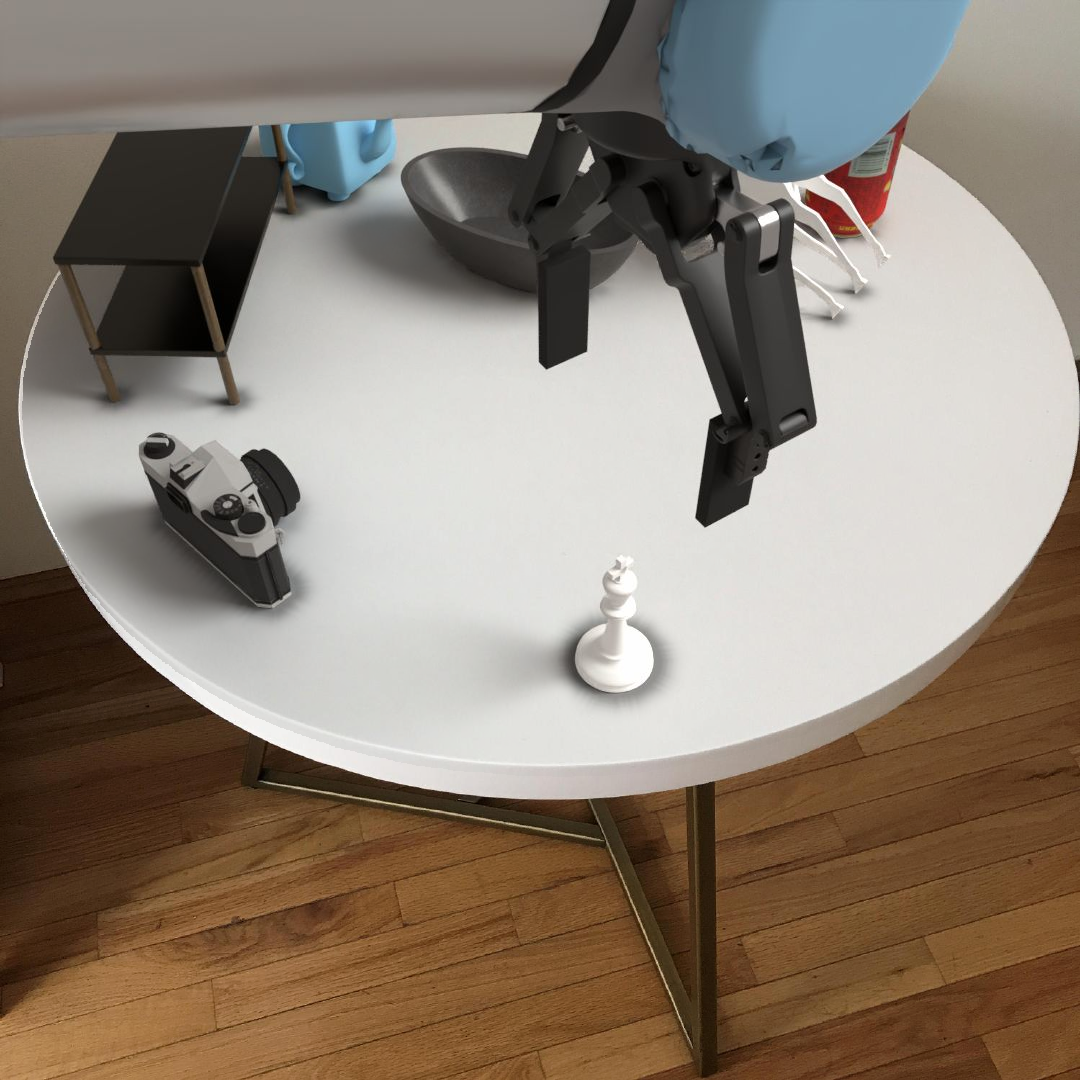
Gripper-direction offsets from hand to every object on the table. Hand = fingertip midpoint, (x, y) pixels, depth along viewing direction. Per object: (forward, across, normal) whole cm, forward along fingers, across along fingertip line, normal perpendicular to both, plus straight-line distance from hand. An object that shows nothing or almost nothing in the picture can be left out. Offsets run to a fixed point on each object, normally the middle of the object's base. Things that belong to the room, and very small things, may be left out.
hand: (637, 430), depth 59 cm
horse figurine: (+19, +28, -32) cm, 46 cm away
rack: (+19, +48, +7) cm, 52 cm away
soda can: (+19, +26, -44) cm, 54 cm away
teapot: (+19, +58, -10) cm, 62 cm away
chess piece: (+19, -1, +1) cm, 19 cm away
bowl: (+19, +37, -16) cm, 45 cm away
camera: (+19, +21, +16) cm, 33 cm away
